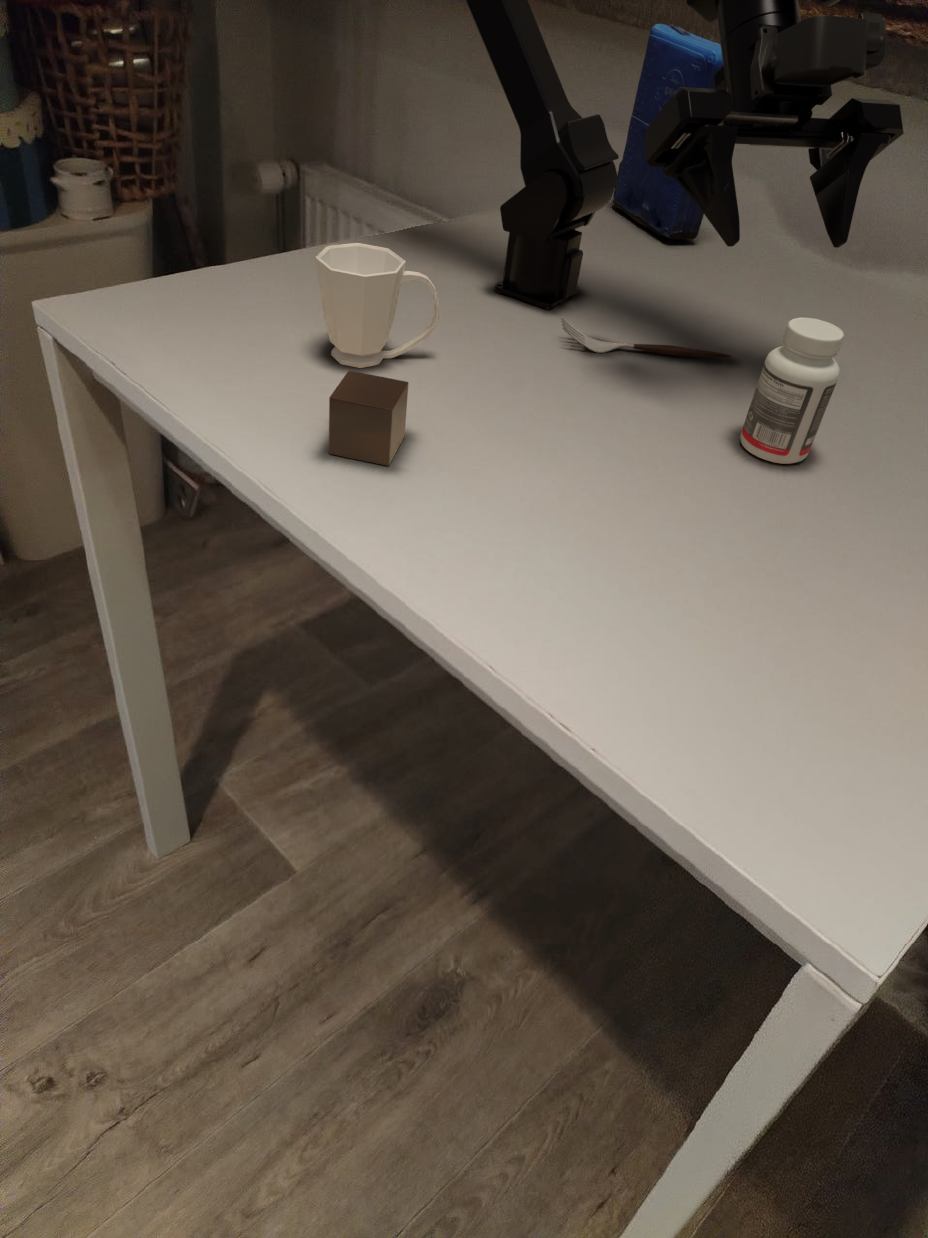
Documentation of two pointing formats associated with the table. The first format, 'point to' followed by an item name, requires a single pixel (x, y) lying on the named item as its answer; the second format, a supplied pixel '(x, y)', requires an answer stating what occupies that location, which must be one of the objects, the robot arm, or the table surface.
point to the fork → (636, 345)
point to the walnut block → (367, 417)
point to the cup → (364, 301)
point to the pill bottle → (793, 392)
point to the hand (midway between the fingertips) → (788, 244)
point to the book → (664, 71)
